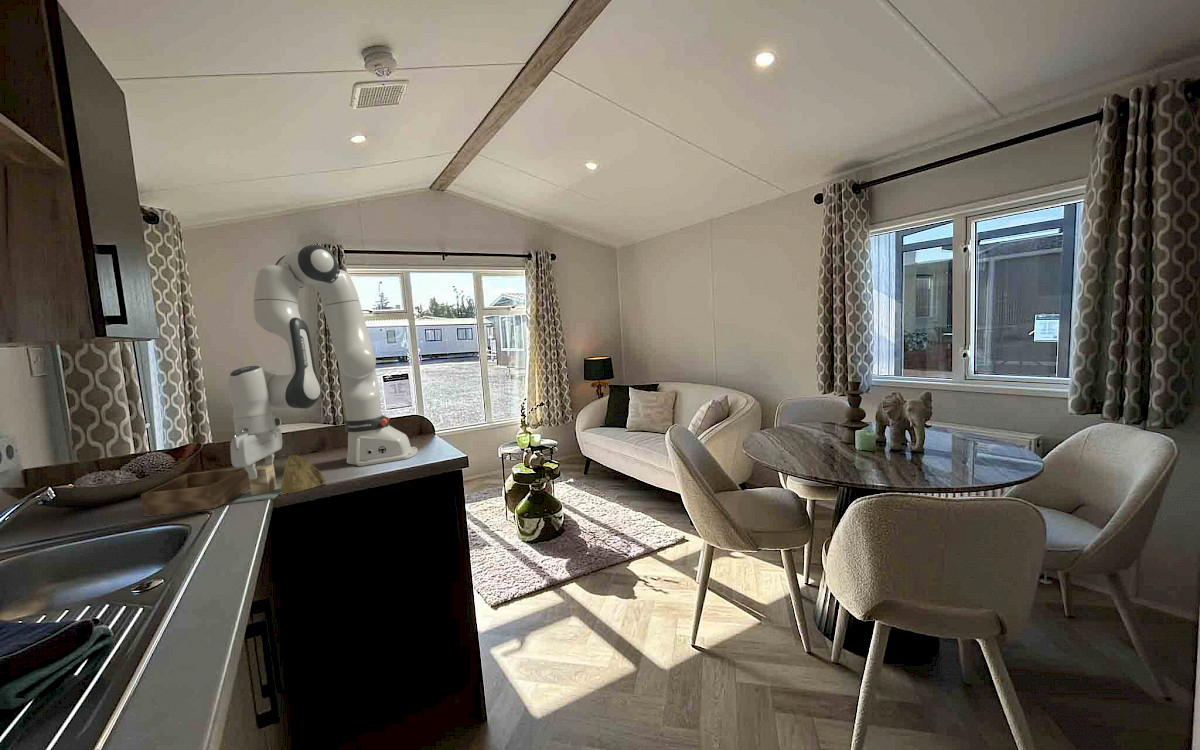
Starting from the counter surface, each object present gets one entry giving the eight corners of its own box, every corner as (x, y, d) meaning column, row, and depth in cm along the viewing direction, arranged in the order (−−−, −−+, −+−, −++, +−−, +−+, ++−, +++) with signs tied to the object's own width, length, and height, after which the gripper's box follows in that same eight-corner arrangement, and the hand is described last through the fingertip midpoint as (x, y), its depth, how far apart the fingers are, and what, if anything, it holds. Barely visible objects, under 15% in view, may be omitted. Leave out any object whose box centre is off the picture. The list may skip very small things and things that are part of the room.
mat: (294, 484, 147) (294, 482, 147) (272, 499, 135) (272, 497, 135) (257, 488, 146) (257, 486, 146) (232, 503, 133) (231, 502, 133)
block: (277, 488, 143) (273, 464, 142) (269, 493, 138) (265, 468, 138) (260, 490, 142) (256, 466, 141) (251, 495, 138) (247, 470, 137)
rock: (334, 472, 148) (299, 470, 148) (325, 454, 143) (289, 452, 142) (318, 504, 141) (282, 502, 140) (308, 486, 135) (270, 485, 134)
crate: (251, 486, 148) (248, 467, 147) (215, 508, 131) (212, 486, 130) (189, 494, 146) (186, 474, 145) (144, 516, 128) (140, 494, 128)
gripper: (246, 432, 128) (254, 484, 130) (283, 417, 149) (290, 462, 150) (219, 435, 128) (228, 487, 129) (260, 419, 148) (267, 465, 149)
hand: (262, 474), depth 140 cm, fingers open, 7 cm apart
